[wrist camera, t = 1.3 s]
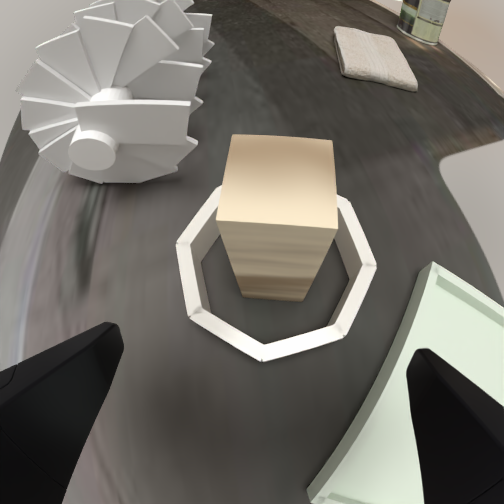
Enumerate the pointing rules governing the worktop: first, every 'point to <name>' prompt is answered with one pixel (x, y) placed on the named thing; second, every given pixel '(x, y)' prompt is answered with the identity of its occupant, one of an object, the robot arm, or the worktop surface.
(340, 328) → the collar
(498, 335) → the tray
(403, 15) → the coffee can
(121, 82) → the spiral staircase
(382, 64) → the washcloth
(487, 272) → the worktop surface
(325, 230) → the dowel block
